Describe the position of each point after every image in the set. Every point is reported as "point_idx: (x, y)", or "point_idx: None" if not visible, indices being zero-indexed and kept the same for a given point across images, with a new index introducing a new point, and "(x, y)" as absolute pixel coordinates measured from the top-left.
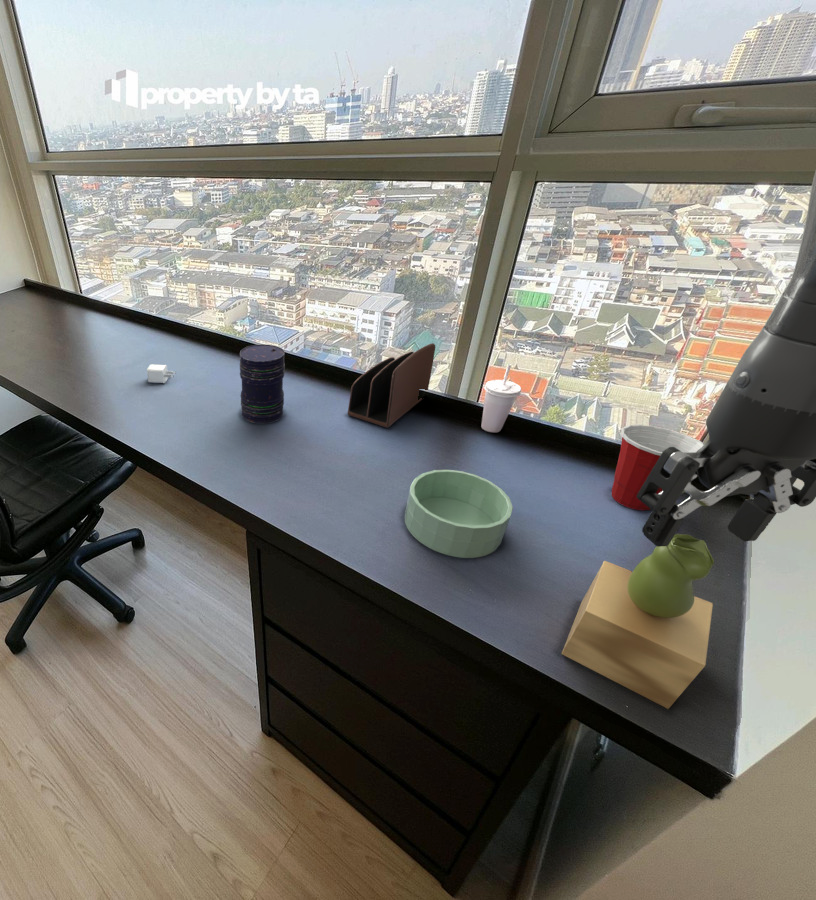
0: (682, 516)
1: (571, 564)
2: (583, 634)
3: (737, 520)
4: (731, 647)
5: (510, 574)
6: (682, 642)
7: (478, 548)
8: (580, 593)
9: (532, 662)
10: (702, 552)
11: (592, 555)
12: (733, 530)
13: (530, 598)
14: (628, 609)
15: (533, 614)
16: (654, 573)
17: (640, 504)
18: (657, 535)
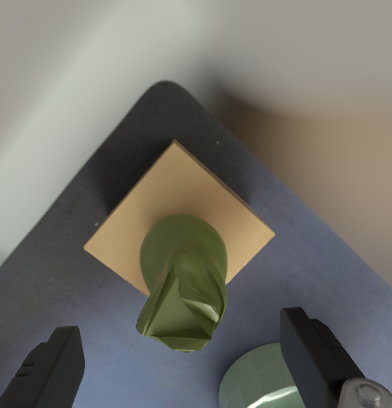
0: (362, 388)
1: None
2: (256, 214)
3: (73, 388)
4: (44, 216)
5: (244, 317)
6: (177, 180)
7: (280, 354)
8: None
9: (289, 196)
10: (174, 300)
11: (124, 348)
12: (80, 359)
13: (240, 282)
14: None
15: (250, 260)
16: (224, 271)
17: None
18: (326, 332)
